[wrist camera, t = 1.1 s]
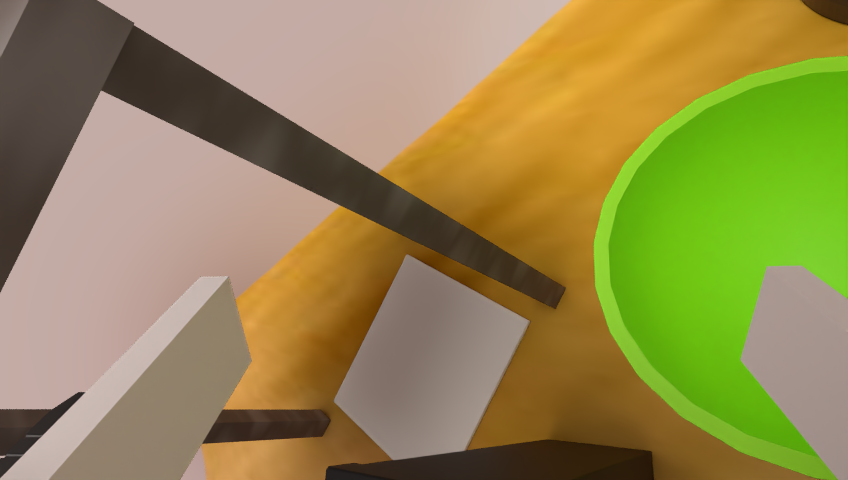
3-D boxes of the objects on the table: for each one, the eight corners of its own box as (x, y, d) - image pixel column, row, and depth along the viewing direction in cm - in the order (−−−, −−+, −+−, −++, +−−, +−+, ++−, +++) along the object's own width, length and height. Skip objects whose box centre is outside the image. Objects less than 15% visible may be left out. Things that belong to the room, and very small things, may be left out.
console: (412, 216, 53) (-30, -26, 24) (571, 290, 40) (44, -32, 11) (309, 422, 53) (-261, 439, 24) (435, 560, 41) (-452, 965, 11)
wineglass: (654, 418, 34) (578, 424, 20) (664, 211, 38) (605, 95, 24) (986, 484, 25) (1269, 580, 11) (957, 200, 29) (1140, 0, 15)
